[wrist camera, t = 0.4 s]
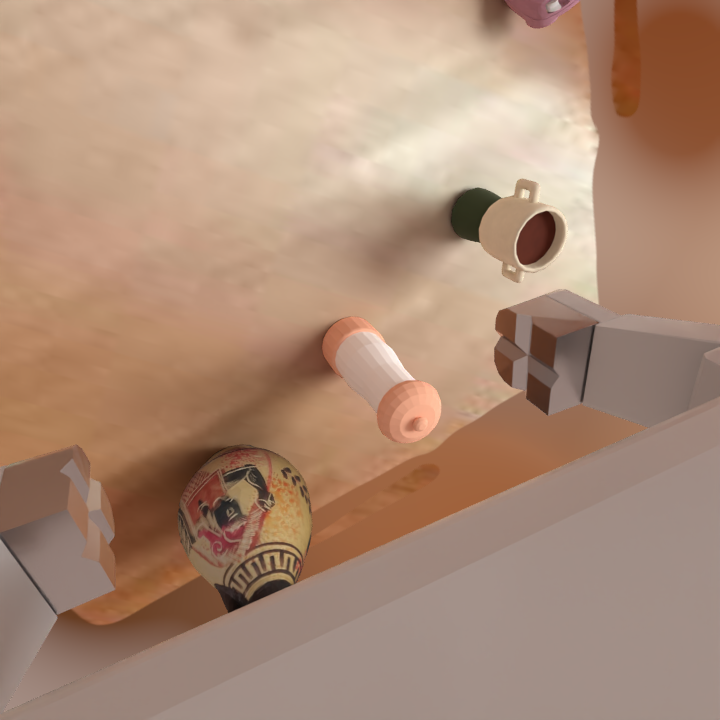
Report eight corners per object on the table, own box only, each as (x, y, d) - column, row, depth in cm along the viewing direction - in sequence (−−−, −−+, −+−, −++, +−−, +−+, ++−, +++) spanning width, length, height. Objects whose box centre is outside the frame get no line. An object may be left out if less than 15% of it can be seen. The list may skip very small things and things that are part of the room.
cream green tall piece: (487, 252, 67) (556, 286, 57) (441, 258, 65) (504, 294, 54) (500, 165, 62) (579, 184, 52) (450, 167, 59) (522, 188, 49)
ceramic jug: (250, 400, 63) (337, 601, 39) (308, 470, 72) (407, 667, 49) (132, 479, 62) (148, 739, 38) (207, 540, 71) (257, 780, 47)
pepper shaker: (321, 320, 62) (391, 402, 47) (376, 313, 65) (459, 388, 49) (321, 372, 66) (386, 464, 50) (373, 363, 68) (449, 448, 53)
